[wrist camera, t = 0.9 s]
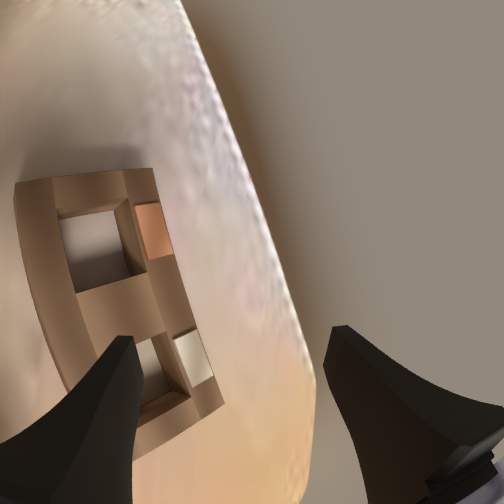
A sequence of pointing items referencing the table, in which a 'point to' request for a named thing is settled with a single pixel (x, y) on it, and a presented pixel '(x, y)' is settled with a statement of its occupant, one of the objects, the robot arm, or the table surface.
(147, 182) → the socket board
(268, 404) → the table surface
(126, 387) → the robot arm
